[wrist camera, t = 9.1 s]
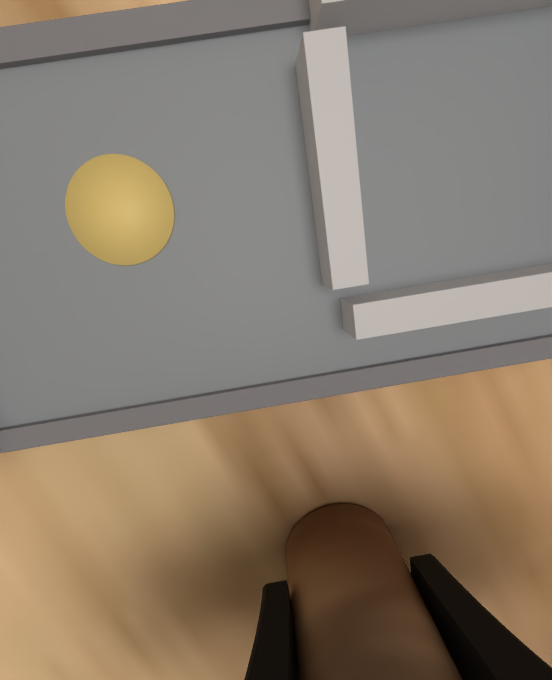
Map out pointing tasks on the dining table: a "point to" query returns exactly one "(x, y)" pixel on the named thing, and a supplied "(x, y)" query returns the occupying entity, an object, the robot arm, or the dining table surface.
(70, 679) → the dining table surface
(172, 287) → the board
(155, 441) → the dining table surface
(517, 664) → the robot arm
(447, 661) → the peg
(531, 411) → the dining table surface
